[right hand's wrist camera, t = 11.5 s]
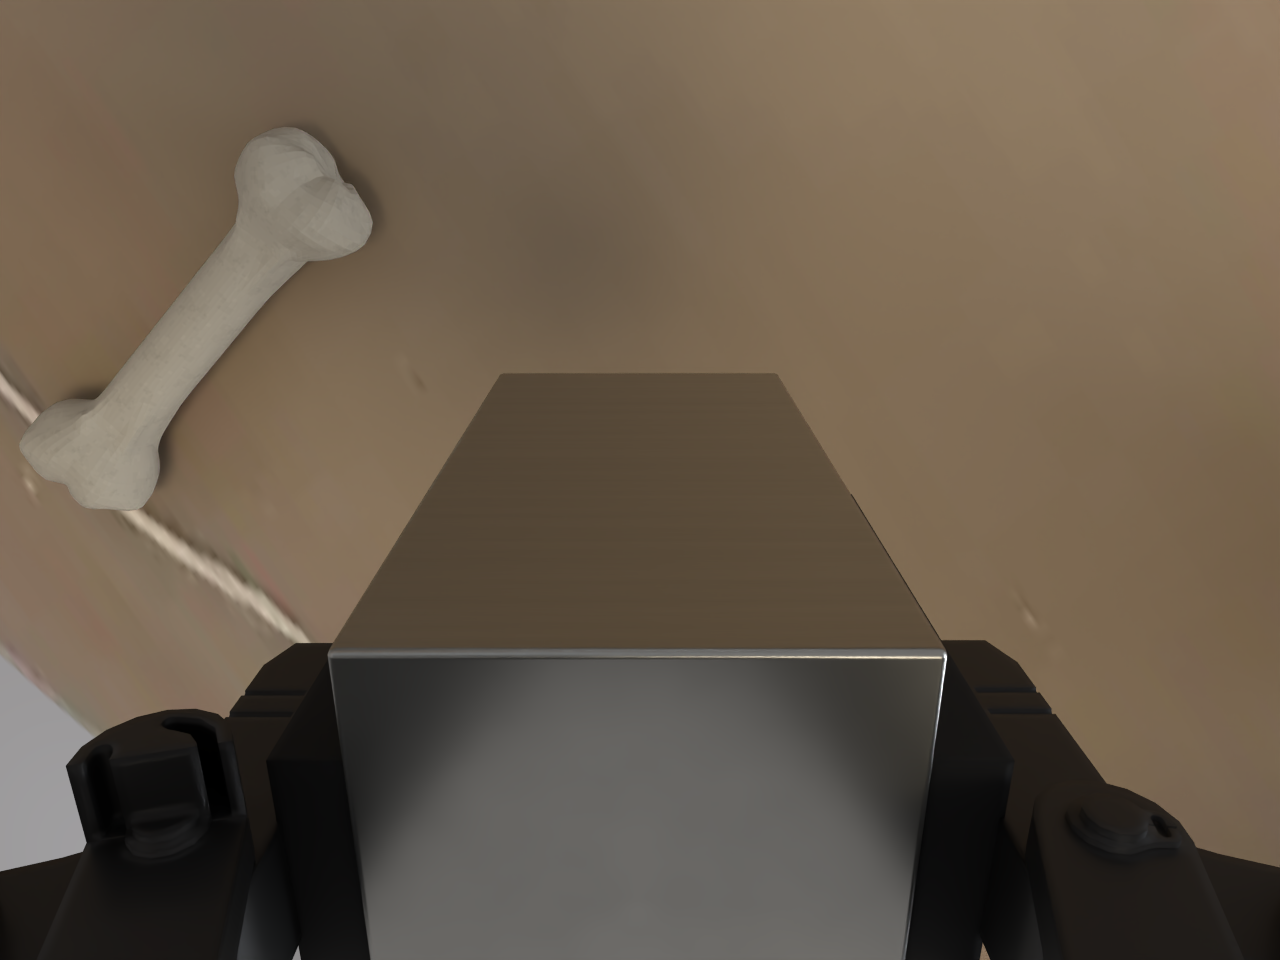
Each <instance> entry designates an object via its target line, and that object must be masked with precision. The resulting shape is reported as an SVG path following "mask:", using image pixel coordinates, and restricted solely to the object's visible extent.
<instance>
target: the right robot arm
mask: <svg viewBox="0 0 1280 960" xmlns="http://www.w3.org/2000/svg"><path fill="white" fill-rule="evenodd" d="M851 496H852V494H851ZM852 497H853V496H852ZM853 499H854V497H853ZM854 501H855V499H854ZM855 502H856V501H855ZM856 504H857V502H856ZM857 505H858V504H857ZM858 507H859V506H858ZM859 509H860V507H859ZM860 510H861V509H860ZM861 512H862V510H861ZM862 514H863V512H862ZM863 515H864V514H863ZM864 517H865V515H864ZM865 519H866V517H865ZM866 520H867V519H866ZM867 522H868V520H867ZM868 523H869V522H868ZM869 525H870V523H869ZM870 527H871V525H870ZM871 528H872V527H871ZM872 530H873V528H872ZM873 532H874V530H873ZM874 533H875V532H874ZM875 535H876V533H875ZM876 537H877V535H876ZM877 538H878V537H877ZM878 540H879V538H878ZM879 541H880V540H879ZM880 543H881V541H880ZM881 545H882V543H881ZM882 546H883V545H882ZM883 548H884V546H883ZM884 550H885V548H884ZM885 551H886V550H885ZM886 553H887V551H886ZM887 554H888V553H887ZM888 556H889V554H888ZM889 558H890V556H889ZM890 559H891V558H890ZM891 561H892V559H891ZM892 563H893V561H892ZM893 564H894V563H893ZM894 566H895V564H894ZM895 568H896V566H895ZM896 569H897V568H896ZM897 571H898V569H897ZM898 572H899V571H898ZM899 574H900V572H899ZM900 576H901V574H900ZM901 577H902V576H901ZM902 579H903V577H902ZM903 581H904V579H903ZM904 582H905V581H904ZM905 584H906V582H905ZM906 585H907V584H906ZM907 587H908V585H907ZM908 589H909V587H908ZM909 590H910V589H909ZM910 592H911V590H910ZM911 594H912V592H911ZM912 595H913V594H912ZM913 597H914V595H913ZM914 599H915V597H914ZM915 600H916V599H915ZM916 602H917V600H916ZM917 603H918V602H917ZM918 605H919V603H918ZM919 607H920V605H919ZM920 608H921V607H920ZM921 610H922V608H921ZM922 612H923V610H922ZM923 613H924V612H923ZM924 615H925V613H924ZM925 617H926V618H927V616H926V615H925ZM927 620H928V618H927ZM928 621H929V620H928ZM929 623H930V621H929ZM930 625H931V623H930ZM931 626H932V625H931ZM932 628H933V626H932ZM933 630H934V631H935V629H934V628H933ZM935 633H936V631H935ZM936 634H937V633H936ZM937 636H938V634H937ZM938 638H939V636H938ZM939 639H940V638H939ZM940 641H941V643H942V644H943V646H944V648H945V649H946V652H947V660H946V668H945V675H944V682H943V689H942V696H941V704H940V711H939V718H938V725H937V733H936V740H935V747H934V754H933V762H932V769H931V776H930V783H929V790H928V798H927V805H926V812H925V819H924V827H923V834H922V841H921V848H920V856H919V863H918V870H917V877H916V884H915V892H914V899H913V906H912V913H911V921H910V928H909V935H908V942H907V950H906V957H905V960H980V954H981V949H982V943H983V944H984V946H985V948H986V951H987V953H988V955H989V958H990V960H1280V867H1275V866H1271V865H1266V864H1262V863H1257V862H1252V861H1248V860H1243V859H1239V858H1234V857H1230V856H1225V855H1221V854H1217V853H1214V852H1210V851H1207V850H1203V849H1200V848H1196V846H1195V844H1194V842H1193V840H1192V839H1191V838H1190V836H1189V835H1188V833H1187V832H1186V831H1185V829H1184V828H1183V826H1182V825H1181V824H1180V822H1179V821H1178V820H1177V819H1175V818H1174V817H1173V816H1171V815H1170V814H1169V813H1168V812H1166V811H1165V810H1164V809H1163V808H1161V807H1160V806H1159V805H1157V804H1156V803H1155V802H1152V801H1150V800H1148V799H1146V798H1144V797H1142V796H1140V795H1138V794H1136V793H1134V792H1132V791H1130V790H1128V789H1125V788H1121V787H1117V786H1114V785H1110V784H1106V782H1105V781H1104V779H1103V778H1102V777H1101V775H1100V774H1099V773H1098V771H1097V770H1096V769H1095V767H1094V766H1093V764H1092V763H1091V762H1090V760H1089V759H1088V758H1087V756H1086V755H1085V754H1084V752H1083V751H1082V750H1081V748H1080V747H1079V745H1078V744H1077V743H1076V741H1075V740H1074V739H1073V737H1072V736H1071V735H1070V733H1069V732H1068V730H1067V729H1066V728H1065V726H1064V725H1063V724H1062V722H1061V721H1060V720H1059V718H1058V717H1057V716H1056V714H1052V712H1051V707H1050V706H1049V705H1048V703H1047V702H1046V701H1045V699H1044V698H1043V697H1042V695H1041V694H1040V693H1036V687H1035V686H1034V684H1033V683H1032V682H1031V680H1030V679H1029V677H1028V676H1027V675H1026V673H1025V672H1024V671H1023V669H1022V668H1021V667H1020V665H1019V664H1018V663H1017V662H1016V661H1015V660H1013V659H1012V658H1010V657H1009V656H1007V655H1006V654H1004V653H1003V652H1001V651H1000V650H999V649H997V648H996V647H994V646H993V645H991V644H990V643H988V642H987V641H985V640H941V639H940ZM332 644H333V643H295V644H294V645H293V646H291V647H290V648H288V649H287V650H285V651H284V652H282V653H281V654H279V655H278V656H276V657H275V658H273V659H272V660H271V661H269V662H268V663H266V664H265V665H264V666H263V667H262V668H261V670H260V671H259V672H258V674H257V675H256V677H255V678H254V679H253V681H252V682H251V683H250V685H249V686H248V687H247V689H246V690H245V696H241V697H240V698H239V700H238V701H237V703H236V704H235V705H234V707H233V708H232V709H231V711H230V716H229V717H226V718H225V719H223V718H222V717H221V716H220V715H218V714H216V713H211V712H207V711H203V710H199V709H179V710H165V711H161V712H157V713H152V714H148V715H144V716H140V717H136V718H134V719H131V720H129V721H126V722H124V723H122V724H119V725H117V726H115V727H112V728H110V729H108V730H106V731H104V732H103V733H101V734H100V735H98V736H97V737H95V738H94V739H93V740H91V741H90V742H88V743H87V744H85V745H84V746H82V747H81V748H80V749H79V751H78V752H77V753H76V754H75V755H74V757H73V758H72V759H71V760H70V761H69V763H68V764H67V765H66V768H67V772H68V776H69V779H70V783H71V787H72V790H73V794H74V798H75V801H76V805H77V809H78V812H79V816H80V820H81V824H82V827H83V831H84V835H85V838H86V842H87V843H86V846H85V848H84V850H83V852H81V853H77V854H74V855H70V856H67V857H63V858H59V859H54V860H50V861H46V862H41V863H37V864H32V865H27V866H23V867H19V868H14V869H10V870H5V871H1V872H0V960H292V959H293V956H294V954H295V952H296V950H297V947H298V945H299V951H300V956H301V960H370V953H369V945H368V938H367V931H366V924H365V917H364V910H363V903H362V896H361V889H360V881H359V874H358V867H357V860H356V853H355V846H354V839H353V832H352V825H351V817H350V810H349V803H348V796H347V789H346V782H345V775H344V768H343V761H342V753H341V746H340V739H339V732H338V725H337V718H336V711H335V704H334V696H333V689H332V682H331V675H330V668H329V661H328V652H329V649H330V647H331V646H332Z"/></svg>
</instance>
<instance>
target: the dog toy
mask: <svg viewBox="0 0 1280 960" xmlns="http://www.w3.org/2000/svg"><path fill="white" fill-rule="evenodd" d="M234 178H235V183H236V188H237V193H238V199H239V204H238V212H237V216H236V223H235V224H234V226H233V227H232V228H231V230H230V231H229V232H228V234H227V235H226V237H225V238H224V239H223V240H222V242H221V243H220V244H219V245H218V247H217V248H216V249H215V250H214V252H213V253H212V254H211V256H210V257H209V258H208V259H207V261H206V262H205V263H204V264H203V266H202V267H201V268H200V269H199V271H198V272H197V273H196V275H195V276H194V277H193V278H192V280H191V281H190V282H189V283H188V285H187V286H186V287H185V288H184V290H183V291H182V292H181V294H180V295H179V296H178V297H177V299H176V300H175V301H174V302H173V304H172V305H171V306H170V308H169V309H168V310H167V311H166V313H165V314H164V315H163V316H162V318H161V319H160V320H159V321H158V323H157V324H156V325H155V327H154V328H153V329H152V330H151V332H150V333H149V334H148V335H147V337H146V338H145V339H144V340H143V342H142V343H141V344H140V346H139V347H138V348H137V349H136V351H135V352H134V353H133V354H132V356H131V357H130V358H129V359H128V361H127V362H126V363H125V365H124V366H123V367H122V368H121V370H120V371H119V372H118V373H117V375H116V376H115V377H114V379H113V380H112V381H111V382H110V384H109V385H108V386H107V387H106V388H105V390H104V391H103V392H102V393H101V394H100V395H99V397H98V398H96V399H91V400H88V399H67V400H63V401H60V402H57V403H55V404H53V405H52V406H50V407H49V408H47V409H46V410H45V411H44V412H43V413H41V414H40V415H39V416H38V418H37V419H36V420H35V421H34V422H33V424H32V425H31V426H30V427H29V428H28V429H27V430H26V431H25V433H24V435H23V437H22V439H21V442H20V444H19V446H20V451H21V452H22V454H23V455H24V457H25V458H26V459H27V461H28V462H29V463H30V464H31V466H32V467H33V468H34V469H35V471H36V472H37V473H38V474H39V475H41V476H42V477H43V478H44V479H46V480H49V481H53V482H58V483H62V484H65V485H67V487H68V489H69V492H70V494H71V495H72V497H73V498H74V499H75V500H76V501H77V502H78V503H79V504H80V505H81V506H83V507H86V508H91V509H113V510H125V511H130V510H137V509H139V508H141V507H143V506H144V504H145V503H146V502H147V501H148V499H149V498H150V496H151V495H152V493H153V491H154V489H155V486H156V483H157V480H158V476H159V470H160V460H159V453H158V447H159V442H160V439H161V437H162V435H163V433H164V431H165V429H166V428H167V426H168V424H169V423H170V421H171V420H172V418H173V417H174V415H175V413H176V412H177V410H178V409H179V407H180V406H181V404H182V403H183V402H184V400H185V399H186V398H187V397H188V395H189V394H190V393H191V391H192V390H193V389H194V388H195V387H196V385H197V384H198V383H199V382H200V380H201V379H202V378H203V377H204V376H205V374H206V373H207V372H208V371H209V370H210V368H211V367H212V366H213V365H214V364H215V362H216V361H217V360H218V359H219V358H220V356H221V355H222V354H223V353H224V351H225V350H226V349H227V348H228V347H229V345H230V344H231V343H232V342H233V341H234V339H235V338H236V337H237V336H238V335H239V333H240V332H241V331H242V330H243V328H244V327H245V326H246V325H247V324H248V322H249V321H250V320H251V319H252V318H253V316H254V315H255V314H256V313H257V312H258V310H259V309H260V308H261V307H262V306H263V305H264V304H265V302H266V301H267V300H268V299H269V298H270V297H271V296H272V295H273V294H274V293H275V292H276V291H277V290H278V289H279V288H280V287H281V286H282V285H283V284H284V283H285V282H286V281H287V280H288V279H289V278H290V277H291V276H293V275H294V274H295V273H296V272H297V271H298V270H299V269H300V268H301V267H302V266H303V265H304V264H305V263H306V262H307V261H325V260H332V259H336V258H340V257H343V256H346V255H349V254H351V253H353V252H356V251H357V250H358V249H360V248H361V247H362V246H364V244H365V243H366V241H367V240H368V238H369V236H370V234H371V230H372V224H373V222H372V219H371V215H370V212H369V211H368V209H367V207H366V206H365V204H364V202H363V201H362V199H361V198H360V196H359V194H358V193H357V191H356V189H355V187H354V186H353V185H352V184H350V183H345V182H344V181H343V180H342V178H341V177H340V175H339V173H338V169H337V166H336V163H335V160H334V158H333V157H332V155H331V154H330V152H329V151H328V150H327V149H326V148H325V147H324V146H323V145H322V144H321V143H320V142H319V141H318V140H316V139H315V138H314V137H313V136H311V135H310V134H308V133H306V132H304V131H302V130H300V129H298V128H291V127H280V128H274V129H271V130H269V131H266V132H264V133H262V134H260V135H258V136H256V137H255V138H253V139H252V140H251V141H249V142H248V143H247V145H246V147H245V148H244V149H243V151H242V153H241V155H240V157H239V159H238V162H237V164H236V167H235V174H234Z"/></svg>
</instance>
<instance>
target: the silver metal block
mask: <svg viewBox="0 0 1280 960" xmlns="http://www.w3.org/2000/svg"><path fill="white" fill-rule="evenodd" d="M946 660H947V652H946V649H945V648H944V646H943V644H942V643H941V641H940V639H939V638H938V636H937V634H936V633H935V631H934V630H933V628H932V626H931V625H930V623H929V621H928V620H927V618H926V617H925V615H924V613H923V612H922V610H921V608H920V607H919V605H918V603H917V602H916V600H915V599H914V597H913V595H912V594H911V592H910V590H909V589H908V587H907V585H906V584H905V582H904V581H903V579H902V577H901V576H900V574H899V572H898V571H897V569H896V568H895V566H894V564H893V563H892V561H891V559H890V558H889V556H888V554H887V553H886V551H885V550H884V548H883V546H882V545H881V543H880V541H879V540H878V538H877V537H876V535H875V533H874V532H873V530H872V528H871V527H870V525H869V523H868V522H867V520H866V519H865V517H864V515H863V514H862V512H861V510H860V509H859V507H858V505H857V504H856V502H855V501H854V499H853V497H852V496H851V494H850V492H849V491H848V489H847V488H846V486H845V484H844V483H843V481H842V479H841V478H840V476H839V474H838V473H837V471H836V470H835V468H834V466H833V465H832V463H831V461H830V460H829V458H828V457H827V455H826V453H825V452H824V450H823V448H822V447H821V445H820V443H819V442H818V440H817V439H816V437H815V435H814V434H813V432H812V430H811V429H810V427H809V425H808V424H807V422H806V421H805V419H804V417H803V416H802V414H801V412H800V411H799V409H798V408H797V406H796V404H795V403H794V401H793V399H792V398H791V396H790V394H789V393H788V391H787V390H786V388H785V386H784V385H783V383H782V381H781V380H780V378H779V377H778V375H777V374H775V373H503V374H501V375H500V376H499V377H498V379H497V381H496V382H495V384H494V386H493V387H492V389H491V390H490V392H489V394H488V395H487V397H486V398H485V400H484V402H483V403H482V405H481V406H480V408H479V410H478V411H477V413H476V414H475V416H474V418H473V419H472V421H471V422H470V424H469V426H468V427H467V429H466V431H465V432H464V434H463V435H462V437H461V439H460V440H459V442H458V443H457V445H456V447H455V448H454V450H453V451H452V453H451V455H450V456H449V458H448V459H447V461H446V463H445V464H444V466H443V467H442V469H441V471H440V472H439V474H438V475H437V477H436V479H435V480H434V482H433V484H432V485H431V487H430V488H429V490H428V492H427V493H426V495H425V496H424V498H423V500H422V501H421V503H420V504H419V506H418V508H417V509H416V511H415V512H414V514H413V516H412V517H411V519H410V520H409V522H408V524H407V525H406V527H405V529H404V530H403V532H402V533H401V535H400V537H399V538H398V540H397V541H396V543H395V545H394V546H393V548H392V549H391V551H390V553H389V554H388V556H387V557H386V559H385V561H384V562H383V564H382V565H381V567H380V569H379V570H378V572H377V573H376V575H375V577H374V578H373V580H372V582H371V583H370V585H369V586H368V588H367V590H366V591H365V593H364V594H363V596H362V598H361V599H360V601H359V602H358V604H357V606H356V607H355V609H354V610H353V612H352V614H351V615H350V617H349V618H348V620H347V622H346V623H345V625H344V627H343V628H342V630H341V631H340V633H339V635H338V636H337V638H336V639H335V641H334V643H333V644H332V646H331V647H330V649H329V652H328V661H329V668H330V675H331V682H332V689H333V696H334V704H335V711H336V718H337V725H338V732H339V739H340V746H341V753H342V761H343V768H344V775H345V782H346V789H347V796H348V803H349V810H350V817H351V825H352V832H353V839H354V846H355V853H356V860H357V867H358V874H359V881H360V889H361V896H362V903H363V910H364V917H365V924H366V931H367V938H368V945H369V953H370V960H905V957H906V950H907V942H908V935H909V928H910V921H911V913H912V906H913V899H914V892H915V884H916V877H917V870H918V863H919V856H920V848H921V841H922V834H923V827H924V819H925V812H926V805H927V798H928V790H929V783H930V776H931V769H932V762H933V754H934V747H935V740H936V733H937V725H938V718H939V711H940V704H941V696H942V689H943V682H944V675H945V668H946Z"/></svg>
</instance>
